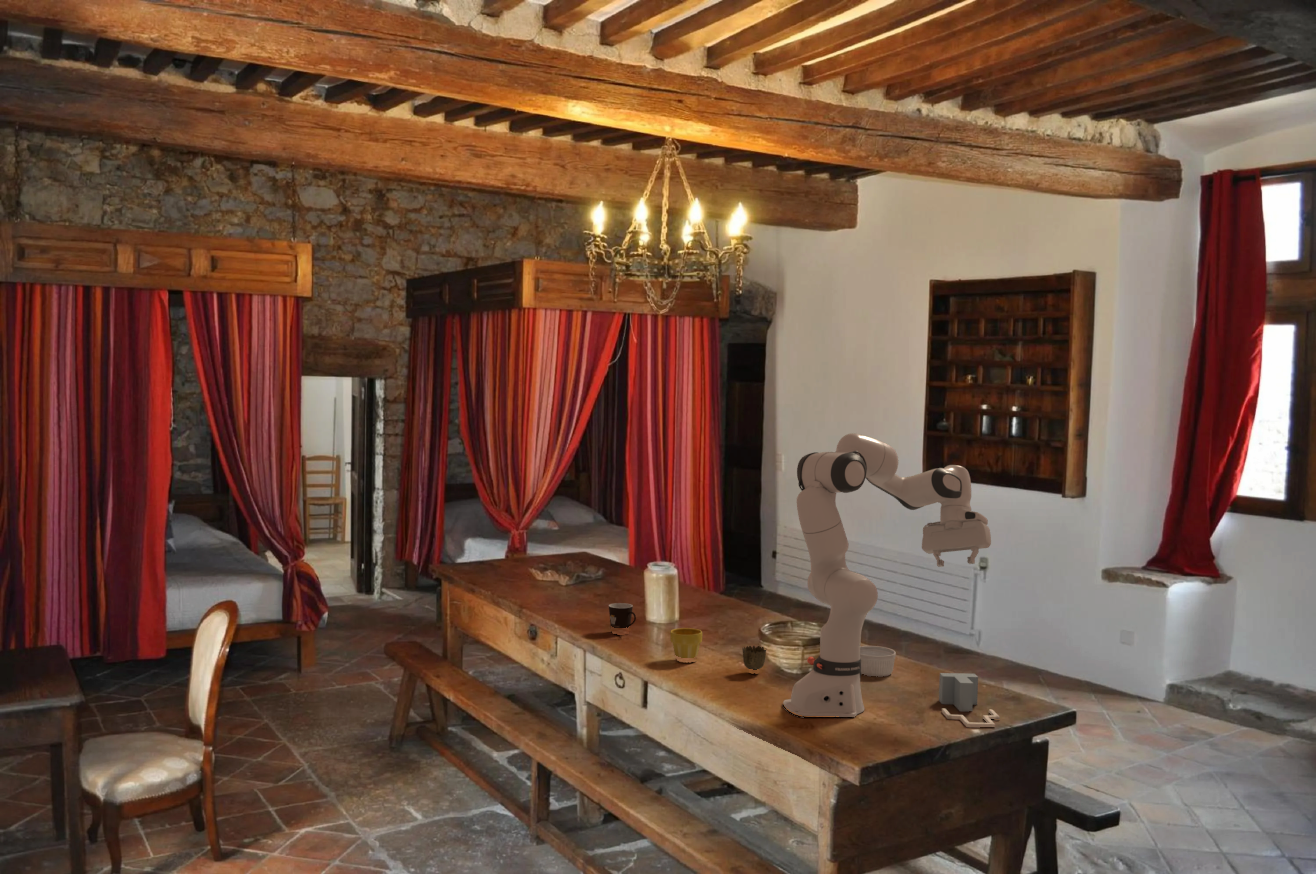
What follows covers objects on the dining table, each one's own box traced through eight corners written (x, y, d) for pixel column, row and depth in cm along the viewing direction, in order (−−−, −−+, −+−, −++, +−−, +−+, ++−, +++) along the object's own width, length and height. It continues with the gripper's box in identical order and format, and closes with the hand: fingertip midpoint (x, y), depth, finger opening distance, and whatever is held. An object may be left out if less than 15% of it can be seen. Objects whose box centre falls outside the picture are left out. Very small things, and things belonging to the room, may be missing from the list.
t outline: (954, 726, 285) (954, 723, 285) (941, 711, 298) (941, 708, 298) (1007, 728, 285) (1007, 724, 285) (992, 712, 298) (992, 709, 298)
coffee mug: (605, 631, 387) (605, 603, 386) (628, 630, 389) (629, 602, 389) (613, 638, 375) (614, 610, 375) (637, 637, 378) (638, 609, 378)
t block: (948, 711, 299) (948, 682, 299) (938, 700, 309) (939, 672, 309) (983, 711, 299) (984, 683, 299) (973, 701, 309) (974, 673, 309)
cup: (737, 671, 336) (738, 646, 336) (759, 669, 339) (759, 644, 338) (748, 677, 329) (748, 651, 329) (769, 675, 332) (770, 650, 331)
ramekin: (863, 679, 330) (864, 657, 330) (845, 668, 343) (845, 646, 342) (902, 677, 334) (903, 654, 333) (882, 666, 346) (883, 644, 346)
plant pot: (665, 658, 351) (666, 628, 350) (695, 656, 354) (696, 626, 353) (675, 666, 341) (676, 635, 340) (706, 664, 344) (707, 633, 344)
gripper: (918, 520, 321) (917, 565, 316) (984, 512, 308) (984, 558, 303) (927, 526, 325) (927, 570, 320) (993, 519, 313) (993, 564, 308)
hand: (955, 564), depth 312 cm, fingers open, 8 cm apart
